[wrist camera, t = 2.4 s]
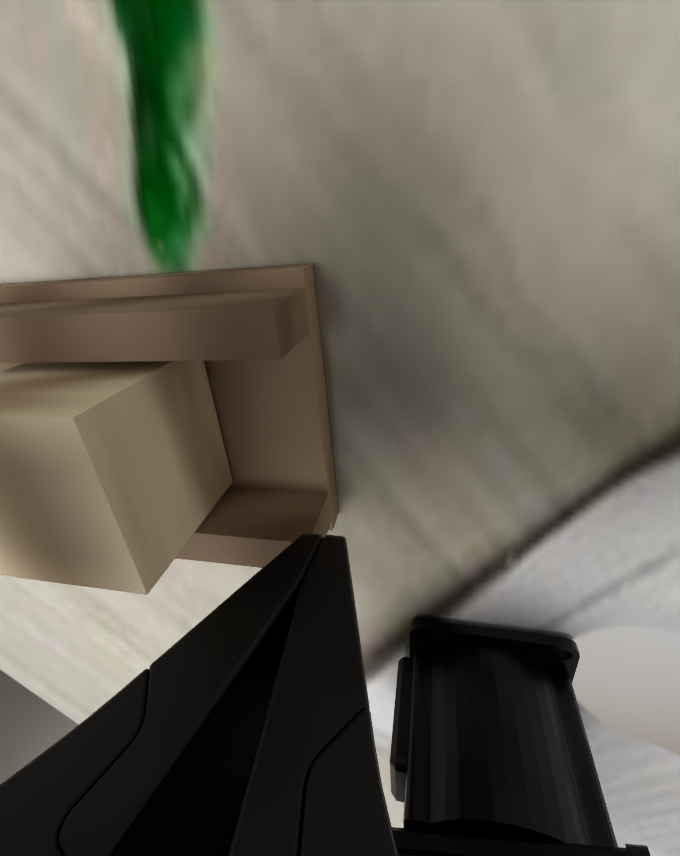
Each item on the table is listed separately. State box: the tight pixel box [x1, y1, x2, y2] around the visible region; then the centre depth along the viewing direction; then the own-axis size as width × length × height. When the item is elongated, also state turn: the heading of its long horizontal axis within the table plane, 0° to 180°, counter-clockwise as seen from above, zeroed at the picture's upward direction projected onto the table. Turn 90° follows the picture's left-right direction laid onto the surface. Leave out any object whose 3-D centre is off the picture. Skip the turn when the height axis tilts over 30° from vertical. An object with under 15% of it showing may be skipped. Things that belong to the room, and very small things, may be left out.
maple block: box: [0, 361, 233, 595], centre depth 12 cm, size 5×5×5 cm
